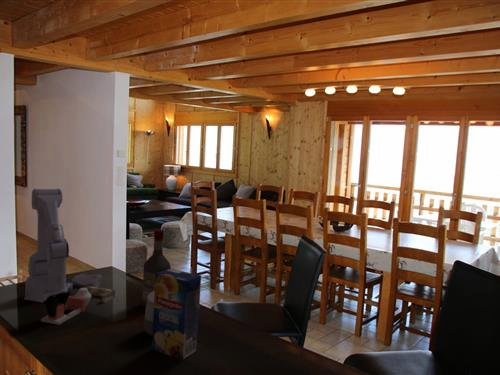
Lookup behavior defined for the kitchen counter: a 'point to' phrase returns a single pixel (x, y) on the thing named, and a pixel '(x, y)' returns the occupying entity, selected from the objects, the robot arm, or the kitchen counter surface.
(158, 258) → the liquor
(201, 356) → the kitchen counter surface
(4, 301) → the kitchen counter surface
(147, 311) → the smart speaker
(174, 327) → the juice carton
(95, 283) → the stone block
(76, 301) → the white rails red ends
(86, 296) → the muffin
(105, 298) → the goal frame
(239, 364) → the kitchen counter surface
